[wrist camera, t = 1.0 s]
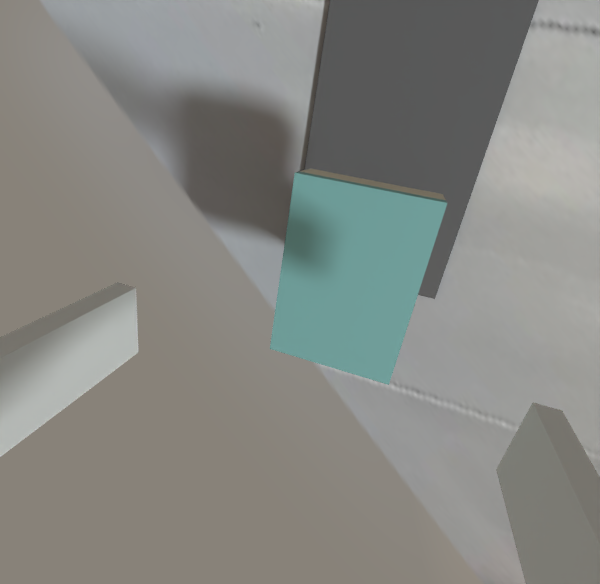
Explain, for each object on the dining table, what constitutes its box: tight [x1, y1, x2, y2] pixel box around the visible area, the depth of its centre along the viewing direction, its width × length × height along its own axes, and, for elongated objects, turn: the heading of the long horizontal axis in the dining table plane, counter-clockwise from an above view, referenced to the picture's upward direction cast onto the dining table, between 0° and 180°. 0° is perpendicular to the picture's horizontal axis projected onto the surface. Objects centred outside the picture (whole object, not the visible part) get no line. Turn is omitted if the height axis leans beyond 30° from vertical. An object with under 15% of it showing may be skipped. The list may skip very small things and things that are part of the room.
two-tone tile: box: [270, 169, 447, 385], centre depth 20 cm, size 10×7×3 cm
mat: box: [304, 0, 538, 299], centre depth 27 cm, size 24×13×1 cm, turn 171°
